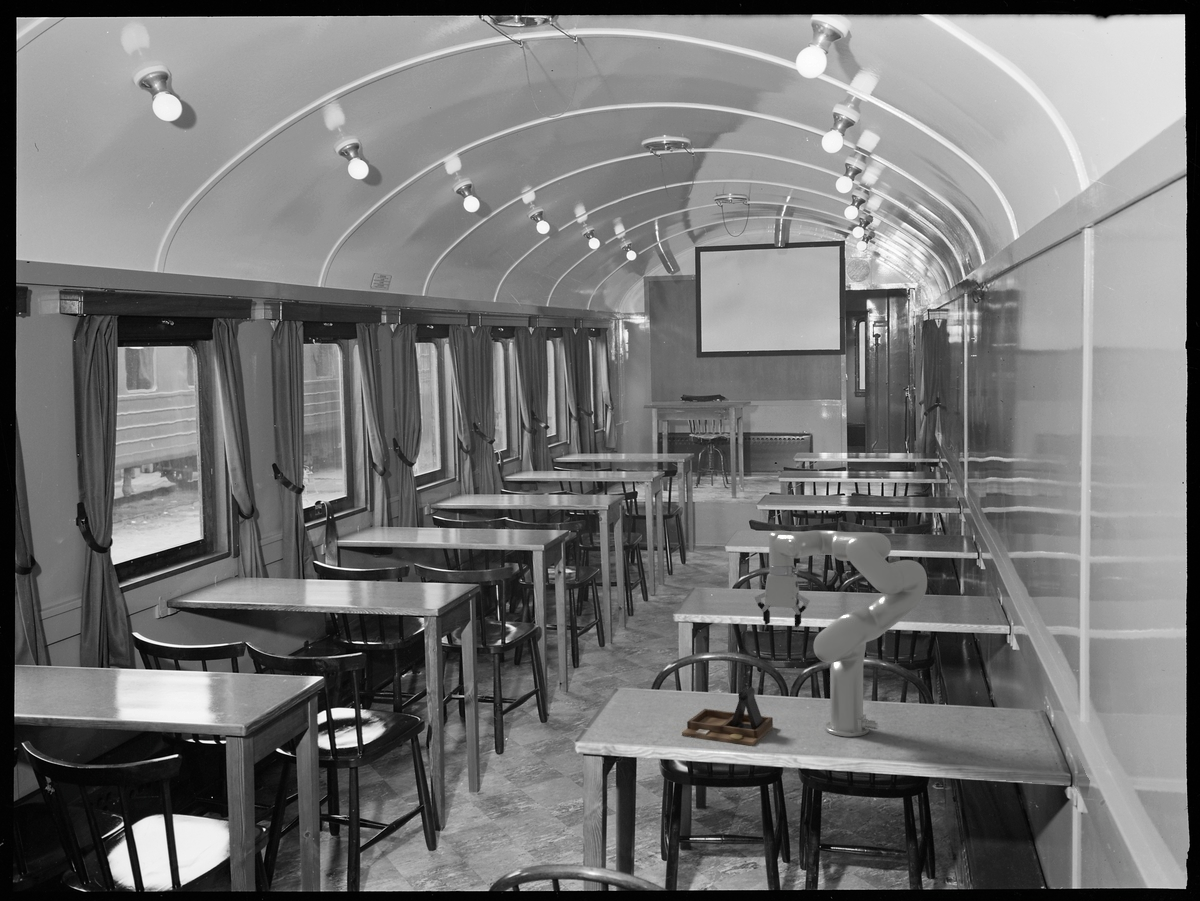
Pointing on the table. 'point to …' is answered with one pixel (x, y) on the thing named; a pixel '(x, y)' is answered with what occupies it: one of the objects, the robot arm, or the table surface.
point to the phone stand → (753, 711)
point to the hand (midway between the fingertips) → (782, 625)
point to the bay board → (725, 727)
